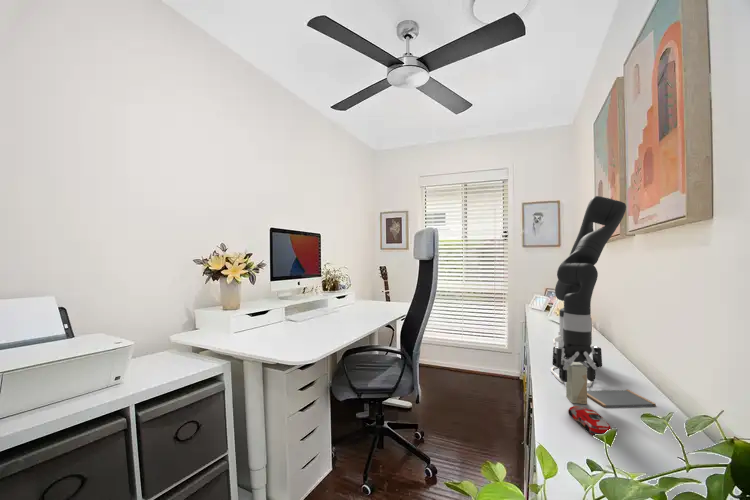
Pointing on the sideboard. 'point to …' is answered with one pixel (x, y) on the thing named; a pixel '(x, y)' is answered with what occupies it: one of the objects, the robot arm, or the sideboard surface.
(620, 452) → the sideboard surface
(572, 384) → the box
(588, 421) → the race car
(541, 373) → the sideboard surface
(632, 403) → the mat
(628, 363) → the sideboard surface
